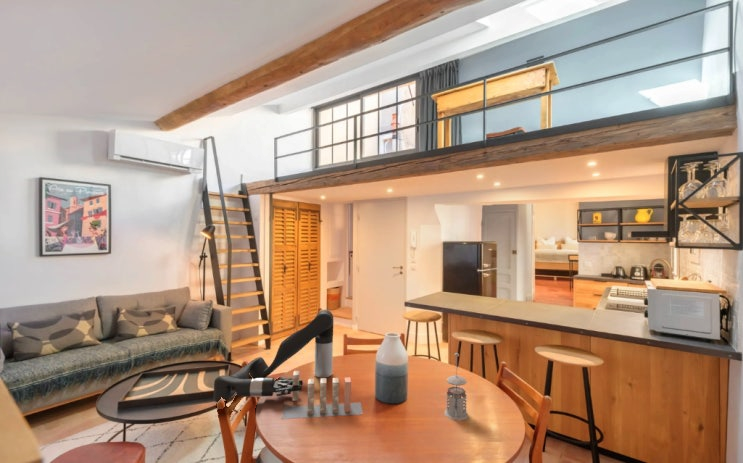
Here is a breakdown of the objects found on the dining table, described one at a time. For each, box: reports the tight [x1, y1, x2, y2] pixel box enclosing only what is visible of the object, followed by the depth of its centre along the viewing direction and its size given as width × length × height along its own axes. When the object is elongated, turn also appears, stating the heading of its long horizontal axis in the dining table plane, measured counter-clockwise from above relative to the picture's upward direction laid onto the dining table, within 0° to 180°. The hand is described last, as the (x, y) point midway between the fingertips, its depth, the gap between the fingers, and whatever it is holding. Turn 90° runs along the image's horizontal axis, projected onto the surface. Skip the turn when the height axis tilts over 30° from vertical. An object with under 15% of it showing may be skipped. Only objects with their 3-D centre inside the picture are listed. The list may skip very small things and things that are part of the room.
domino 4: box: [331, 377, 340, 413], centre depth 142 cm, size 2×5×12 cm, turn 8°
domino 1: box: [292, 370, 300, 402], centre depth 151 cm, size 2×5×12 cm, turn 8°
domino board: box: [281, 402, 364, 420], centre depth 141 cm, size 10×32×1 cm, turn 98°
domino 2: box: [307, 378, 315, 414], centre depth 140 cm, size 2×5×12 cm, turn 8°
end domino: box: [343, 376, 352, 412], centre depth 142 cm, size 2×5×12 cm, turn 8°
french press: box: [443, 352, 469, 421], centre depth 140 cm, size 10×12×25 cm
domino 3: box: [319, 377, 327, 413], centre depth 141 cm, size 2×5×12 cm, turn 8°
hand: (301, 385), depth 152 cm, fingers closed on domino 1, 4 cm apart
